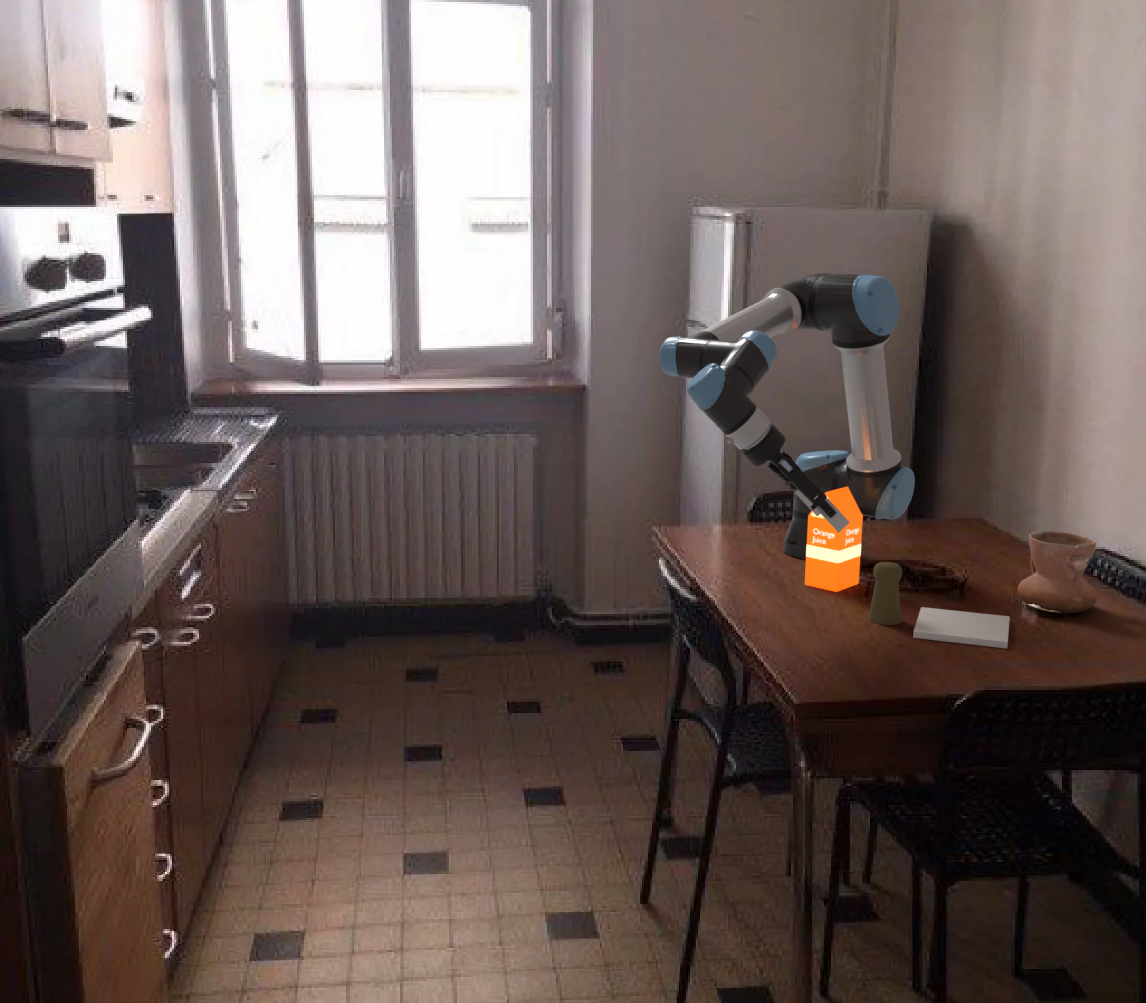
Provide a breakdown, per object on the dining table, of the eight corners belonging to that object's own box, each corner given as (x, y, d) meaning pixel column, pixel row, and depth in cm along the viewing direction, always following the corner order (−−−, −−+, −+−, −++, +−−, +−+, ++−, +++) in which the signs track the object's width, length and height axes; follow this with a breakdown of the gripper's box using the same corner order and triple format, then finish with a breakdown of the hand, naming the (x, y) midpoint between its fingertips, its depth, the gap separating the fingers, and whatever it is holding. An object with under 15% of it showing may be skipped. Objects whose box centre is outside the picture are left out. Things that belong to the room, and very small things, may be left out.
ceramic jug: (1113, 620, 237) (1121, 547, 234) (1039, 621, 235) (1046, 547, 233) (1067, 595, 254) (1074, 526, 252) (998, 595, 253) (1004, 526, 250)
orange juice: (859, 583, 260) (865, 489, 255) (836, 592, 253) (842, 495, 249) (826, 576, 265) (831, 483, 261) (803, 584, 259) (808, 489, 254)
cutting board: (913, 637, 225) (913, 631, 225) (920, 613, 240) (921, 607, 240) (1007, 648, 220) (1007, 642, 220) (1009, 622, 235) (1009, 616, 234)
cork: (903, 617, 237) (907, 561, 235) (897, 626, 232) (901, 568, 229) (871, 613, 239) (875, 557, 237) (864, 622, 234) (868, 565, 232)
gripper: (726, 441, 238) (799, 518, 242) (757, 463, 214) (837, 549, 218) (755, 413, 237) (828, 491, 242) (789, 433, 213) (869, 519, 218)
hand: (832, 519), depth 230 cm, fingers open, 13 cm apart
